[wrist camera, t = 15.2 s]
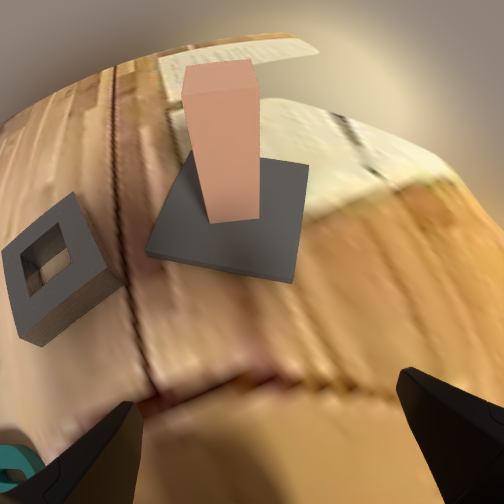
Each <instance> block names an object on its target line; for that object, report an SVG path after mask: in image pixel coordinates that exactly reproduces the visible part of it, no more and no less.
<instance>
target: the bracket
mask: <svg viewBox="0 0 504 504" xmlns="http://www.w3.org/2000/svg"><path fill="white" fill-rule="evenodd" d="M45 467H46V466H45V465H44V463H43V462H42V460H41V459H40V458H39V457H38V455H37V454H36V453H35V452H33V451H32V450H31V449H30V448H28V447H26V446H23V445H0V493H2V492H6V491H9V490H10V489H12V488H14V487H16V486H17V485H19V484H20V483H22V482H16V481H11V480H10V479H9V478H8V476H7V474H6V469H20V470H21V471H23V473H24V474H25V475H26V477H27V479H29V478H30V477H32V476H33V475H35V474H36V473H38V472H39V471H41V470H42V469H43V468H45Z"/></svg>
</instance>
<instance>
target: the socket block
mask: <svg viewBox="0 0 504 504" xmlns="http://www.w3.org/2000/svg"><path fill="white" fill-rule="evenodd" d="M66 247H67V249H68V252H69V254H70V257H71V260H72V262H73V263H71V264H70V265H69V266H67V267H66V268H65V269H64V270H62V271H61V272H60V273H59V274H57V275H56V276H55V277H54V278H53V279H51V280H50V281H49V282H48V283H46V284H45V285H44V286H43V284H42V281H41V277H40V274H39V269H40V268H41V267H42V266H43V265H45V264H46V263H47V262H48V261H49V260H51V259H52V258H53V257H54V256H55V255H57V254H58V253H59V252H60V251H62V250H63V249H64V248H66ZM1 253H2V260H3V267H4V274H5V280H6V285H7V290H8V295H9V300H10V305H11V309H12V313H13V317H14V321H15V325H16V329H17V332H18V336H19V338H21V339H23V340H25V341H28V342H30V343H32V344H35V345H37V346H40V347H43V346H44V345H46V344H47V343H48V342H49V341H51V340H52V339H53V338H54V337H56V336H57V335H58V334H59V333H61V332H62V331H63V330H65V329H66V328H67V327H68V326H70V325H71V324H72V323H74V322H75V321H76V320H77V319H79V318H80V317H81V316H83V315H84V314H85V313H87V312H88V311H89V310H91V309H92V308H93V307H94V306H96V305H97V304H98V303H100V302H101V301H102V300H104V299H105V298H107V297H108V296H109V295H111V294H112V293H113V292H115V291H116V290H117V289H119V288H120V287H121V286H123V285H124V283H123V281H122V280H121V278H120V276H119V274H118V272H117V270H116V268H115V267H114V265H113V263H112V261H111V259H110V257H109V255H108V253H107V251H106V249H105V247H104V245H103V243H102V241H101V239H100V237H99V235H98V233H97V231H96V229H95V227H94V224H93V222H92V220H91V218H90V216H89V214H88V211H87V210H86V208H85V207H84V206H83V204H82V203H81V201H80V200H79V199H78V197H77V196H76V194H75V193H74V191H73V192H72V193H70V194H69V195H67V196H66V197H65V198H63V199H62V200H61V201H59V202H58V203H57V204H56V205H54V206H53V207H52V208H50V209H49V210H48V211H47V212H45V213H44V214H43V215H42V216H40V217H39V218H38V219H37V220H36V221H34V222H33V223H32V224H31V225H30V226H29V227H27V228H26V229H25V230H24V231H23V232H22V233H21V234H19V235H18V236H17V237H16V238H15V239H14V240H13V241H12V242H11V243H9V244H8V245H7V246H6V247H5V248H4V249H3V250H2V251H1Z"/></svg>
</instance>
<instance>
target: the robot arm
mask: <svg viewBox="0 0 504 504" xmlns="http://www.w3.org/2000/svg"><path fill="white" fill-rule="evenodd" d="M396 392H397V395H398V397H399V400H400V403H401V405H402V408H403V411H404V413H405V416H406V419H407V422H408V424H409V427H410V429H411V431H412V433H413V435H414V437H415V439H416V441H417V443H418V445H419V447H420V449H421V451H422V453H423V456H424V458H425V460H426V462H427V464H428V466H429V468H430V471H431V473H432V475H433V477H434V479H435V482H436V484H437V486H438V488H439V491H440V493H441V495H442V498H443V500H444V502H445V504H504V408H503V407H500V406H498V405H495V404H493V403H490V402H487V401H486V400H483V399H481V398H479V397H477V396H474V395H472V394H470V393H468V392H465V391H463V390H461V389H459V388H457V387H454V386H452V385H450V384H448V383H446V382H444V381H441V380H439V379H437V378H435V377H433V376H431V375H428V374H426V373H424V372H422V371H420V370H418V369H416V368H414V367H408V368H405V369H402V370H401V371H400V374H399V378H398V381H397V385H396ZM142 433H143V417H142V415H141V413H140V411H139V409H138V407H137V405H136V403H135V402H133V401H123V402H121V403H120V404H119V405H118V406H117V407H116V408H114V409H113V410H112V411H111V412H110V413H109V414H108V415H106V416H105V417H104V418H103V419H102V420H101V421H99V422H98V423H97V424H96V425H95V426H94V427H93V428H91V429H90V430H89V431H88V432H87V433H86V434H84V435H83V436H82V437H81V438H80V439H78V440H77V441H76V442H75V443H74V444H73V445H71V446H70V447H69V448H68V449H67V450H65V451H64V452H63V453H62V454H61V455H60V456H59V457H57V458H56V459H55V460H53V461H52V462H51V463H50V464H48V465H47V466H46V467H45V468H43V469H42V470H41V471H39V472H38V473H36V474H35V475H33V476H32V477H30V478H29V479H27V480H25V481H24V482H22V483H20V484H19V485H17V486H16V487H14V488H12V489H10V490H9V491H6V492H2V493H0V504H133V498H134V492H135V486H136V481H137V475H138V470H139V465H140V458H141V446H142Z"/></svg>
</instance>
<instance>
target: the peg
mask: <svg viewBox="0 0 504 504" xmlns="http://www.w3.org/2000/svg"><path fill="white" fill-rule="evenodd" d="M181 97H182V102H183V107H184V112H185V117H186V121H187V126H188V131H189V135H190V140H191V145H192V149H193V154H194V158H195V163H196V167H197V172H198V176H199V180H200V185H201V189H202V193H203V197H204V201H205V206H206V210H207V214H208V218H209V222H210V224H213V223H222V222H231V221H240V220H249V219H259V198H260V86H259V83H258V80H257V77H256V74H255V71H254V68H253V65H252V62H251V59H249V60H235V61H224V62H214V63H206V64H199V65H192V66H186V70H185V75H184V81H183V87H182V94H181Z"/></svg>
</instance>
